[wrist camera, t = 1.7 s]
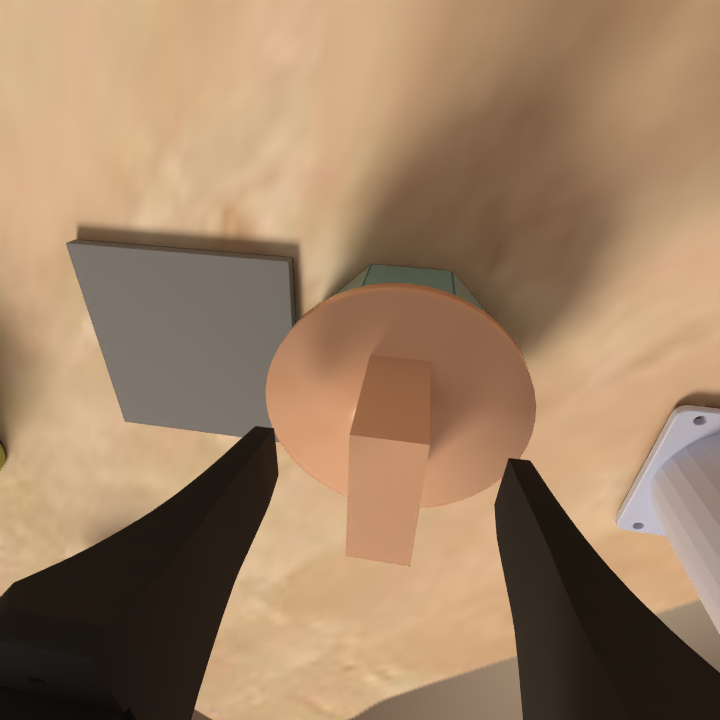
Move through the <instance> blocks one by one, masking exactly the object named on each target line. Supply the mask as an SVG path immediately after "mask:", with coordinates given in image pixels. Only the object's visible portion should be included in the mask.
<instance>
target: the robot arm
mask: <svg viewBox="0 0 720 720" xmlns="http://www.w3.org/2000/svg"><path fill="white" fill-rule="evenodd" d="M698 416H701V417H700V418H699V419H696V420H694V419H695V418H696V417H698ZM277 478H278V464H277V453H276V443H275V432H274V428H268V427H260V426H255V427H254V428H252V429H251V430H250V431H249V432H248V433H247V434H246V435H245V436H244V437H243V438H242V439H240V440H239V441H238V442H237V443H236V444H235V445H234V446H233V447H232V448H231V449H230V450H228V451H227V452H226V453H225V454H224V455H223V456H222V457H221V458H220V459H218V460H217V461H216V462H215V463H214V464H213V465H212V466H210V467H209V468H208V469H207V470H206V471H205V472H203V473H202V474H201V475H200V476H198V477H197V478H196V479H195V480H193V481H192V482H191V483H190V484H188V485H187V486H186V487H185V488H183V489H182V490H181V491H180V492H178V493H177V494H176V495H174V496H173V497H171V498H170V499H169V500H167V501H166V502H165V503H163V504H162V505H160V506H159V507H157V508H156V509H154V510H153V511H151V512H150V513H148V514H147V515H145V516H144V517H142V518H141V519H139V520H137V521H136V522H134V523H132V524H131V525H129V526H127V527H126V528H124V529H122V530H121V531H119V532H117V533H116V534H114V535H112V536H110V537H109V538H107V539H105V540H103V541H101V542H99V543H97V544H96V545H94V546H92V547H90V548H88V549H86V550H84V551H82V552H80V553H78V554H76V555H74V556H72V557H70V558H68V559H66V560H64V561H62V562H60V563H57V564H55V565H53V566H51V567H48V568H46V569H44V570H42V571H40V572H37V573H35V574H33V575H31V576H28V577H26V578H24V579H21V580H19V581H17V582H14V583H13V584H12V585H11V586H10V587H9V588H8V590H7V591H6V592H5V593H4V594H3V595H2V596H1V597H0V720H191V718H192V714H193V711H194V708H195V704H196V700H197V697H198V693H199V690H200V687H201V684H202V680H203V677H204V674H205V670H206V667H207V664H208V661H209V657H210V654H211V651H212V648H213V645H214V642H215V639H216V636H217V632H218V629H219V626H220V623H221V620H222V617H223V614H224V611H225V608H226V606H227V603H228V600H229V597H230V594H231V591H232V588H233V585H234V583H235V580H236V578H237V575H238V573H239V570H240V568H241V566H242V564H243V562H244V559H245V557H246V555H247V553H248V551H249V548H250V546H251V544H252V542H253V540H254V537H255V535H256V533H257V531H258V529H259V526H260V524H261V522H262V520H263V517H264V515H265V513H266V511H267V508H268V506H269V503H270V500H271V497H272V494H273V491H274V488H275V485H276V481H277ZM494 505H495V520H496V532H497V541H498V546H499V551H500V556H501V562H502V567H503V572H504V577H505V582H506V587H507V592H508V597H509V602H510V607H511V612H512V617H513V624H514V630H515V638H516V648H517V657H518V667H519V677H520V689H521V699H522V711H523V720H720V673H719V672H718V671H717V670H716V669H715V668H713V667H712V666H711V665H710V664H709V663H708V662H706V661H705V660H704V659H703V658H702V657H701V656H700V655H698V654H697V653H696V652H695V651H693V649H691V648H690V647H689V646H688V645H686V643H684V642H683V641H682V640H681V639H680V638H679V637H678V636H677V635H676V634H675V633H674V632H672V631H671V630H670V629H669V628H668V627H667V626H666V625H665V624H664V623H663V622H662V621H661V620H660V619H659V618H658V617H657V616H656V615H655V614H654V613H653V612H652V611H650V610H649V609H648V608H647V607H646V606H645V605H644V604H643V603H642V602H641V601H640V600H639V599H638V598H637V597H636V596H635V595H634V594H633V593H632V592H631V591H630V590H629V588H628V587H627V586H626V585H625V584H624V583H623V582H622V581H621V580H620V579H619V578H618V577H617V575H616V574H615V573H614V572H613V571H612V570H611V569H610V568H609V567H608V565H607V564H606V563H605V562H604V561H603V560H602V558H601V557H600V556H599V555H598V554H597V552H596V551H595V550H594V549H593V548H592V546H591V545H590V544H589V543H588V541H587V540H586V539H585V538H584V536H583V535H582V534H581V532H580V531H579V530H578V529H577V527H576V526H575V525H574V523H573V522H572V520H571V519H570V518H569V516H568V515H567V514H566V512H565V511H564V510H563V508H562V507H561V505H560V504H559V503H558V501H557V500H556V498H555V497H554V495H553V494H552V492H551V491H550V490H549V488H548V487H547V485H546V484H545V482H544V481H543V479H542V478H541V476H540V475H539V473H538V472H537V470H536V469H535V467H534V466H533V464H532V463H531V461H529V460H521V459H513V458H508V461H507V465H506V468H505V471H504V475H503V478H502V481H501V485H500V488H499V491H498V494H497V498H496V501H495V504H494ZM615 521H616V524H617V526H618V527H619V528H620V529H623V530H628V531H635V532H642V533H649V534H656V535H663V536H666V537H667V539H668V541H669V542H670V544H671V546H672V548H673V550H674V552H675V553H676V555H677V557H678V559H679V561H680V563H681V564H682V566H683V568H684V570H685V572H686V574H687V575H688V577H689V579H690V581H691V583H692V585H693V586H694V588H695V590H696V592H697V594H698V596H699V597H700V599H701V601H702V603H703V605H704V606H705V608H706V610H707V612H708V614H709V616H710V618H711V619H712V621H713V623H714V625H715V626H716V629H717V630H718V632H719V634H720V409H719V408H710V407H701V406H692V405H683V406H680V407H678V408H676V409H674V411H673V412H672V413H671V415H670V417H669V419H668V420H667V422H666V424H665V426H664V428H663V430H662V432H661V433H660V435H659V437H658V439H657V441H656V443H655V445H654V446H653V448H652V450H651V452H650V454H649V456H648V458H647V459H646V461H645V463H644V465H643V467H642V469H641V471H640V473H639V474H638V476H637V478H636V480H635V482H634V484H633V486H632V487H631V489H630V491H629V493H628V495H627V497H626V499H625V500H624V502H623V504H622V506H621V508H620V510H619V512H618V513H617V515H616V517H615Z"/></svg>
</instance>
